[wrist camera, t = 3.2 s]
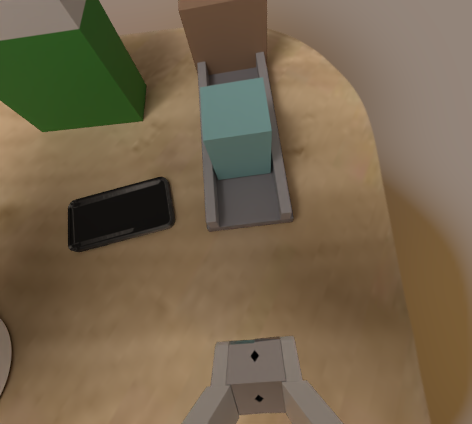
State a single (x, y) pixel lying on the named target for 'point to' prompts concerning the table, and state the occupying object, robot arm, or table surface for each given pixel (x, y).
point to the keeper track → (225, 71)
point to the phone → (120, 214)
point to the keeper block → (237, 128)
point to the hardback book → (66, 66)
